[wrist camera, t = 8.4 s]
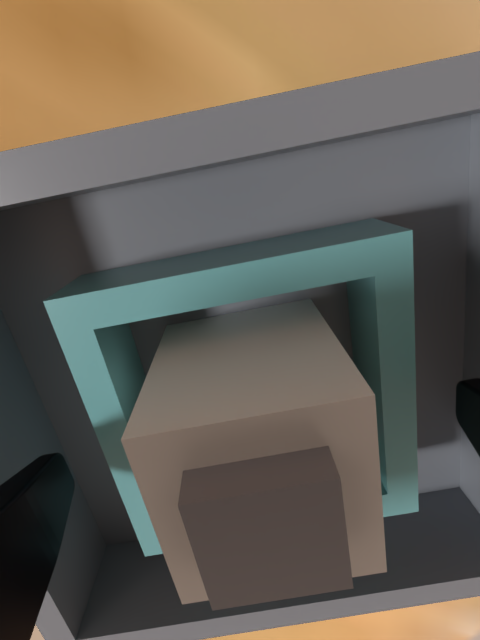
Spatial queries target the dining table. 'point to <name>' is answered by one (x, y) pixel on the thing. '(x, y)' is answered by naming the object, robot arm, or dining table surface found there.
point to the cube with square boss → (259, 458)
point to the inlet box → (241, 295)
